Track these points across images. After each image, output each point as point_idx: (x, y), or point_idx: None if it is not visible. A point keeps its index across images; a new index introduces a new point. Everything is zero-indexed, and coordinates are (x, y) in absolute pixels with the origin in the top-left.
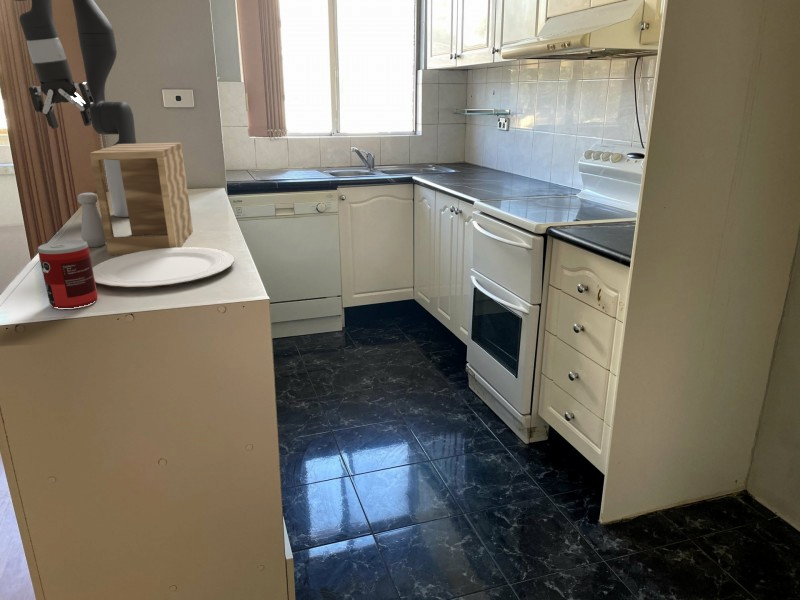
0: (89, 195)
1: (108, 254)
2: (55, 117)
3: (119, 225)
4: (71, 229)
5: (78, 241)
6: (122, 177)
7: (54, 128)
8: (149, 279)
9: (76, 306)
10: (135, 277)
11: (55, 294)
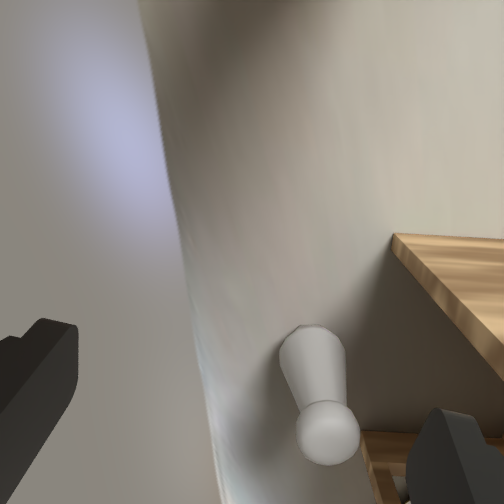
0: (343, 461)
1: (360, 443)
2: (11, 401)
3: (328, 73)
4: (170, 102)
5: None
6: (471, 342)
7: (71, 384)
8: None
9: None
10: None
11: None
